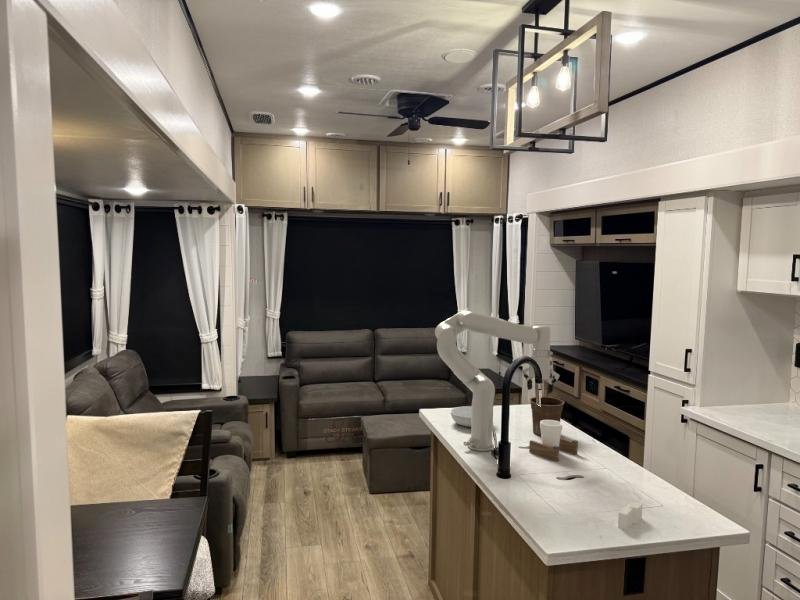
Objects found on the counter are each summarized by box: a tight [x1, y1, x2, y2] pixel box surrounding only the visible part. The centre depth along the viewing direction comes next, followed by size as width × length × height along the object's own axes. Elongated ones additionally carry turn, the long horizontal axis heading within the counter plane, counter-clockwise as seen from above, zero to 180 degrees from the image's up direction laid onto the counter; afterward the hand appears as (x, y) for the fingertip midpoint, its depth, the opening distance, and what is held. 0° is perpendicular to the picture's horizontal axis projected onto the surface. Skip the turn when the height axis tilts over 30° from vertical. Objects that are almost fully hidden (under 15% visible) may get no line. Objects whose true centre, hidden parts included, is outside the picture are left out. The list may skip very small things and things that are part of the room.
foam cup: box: [540, 420, 563, 447], centre depth 233 cm, size 10×9×13 cm
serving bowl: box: [450, 405, 472, 428], centre depth 273 cm, size 21×21×7 cm
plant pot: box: [529, 396, 565, 437], centre depth 259 cm, size 16×16×16 cm
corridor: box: [528, 437, 579, 463], centre depth 232 cm, size 15×14×6 cm
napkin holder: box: [617, 501, 643, 531], centre depth 169 cm, size 15×11×6 cm
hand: (539, 391), depth 240 cm, fingers open, 9 cm apart
